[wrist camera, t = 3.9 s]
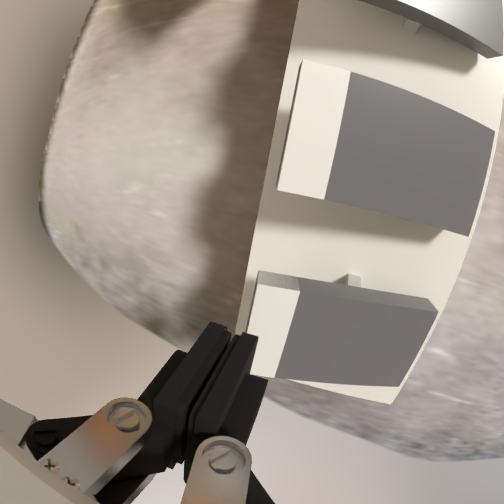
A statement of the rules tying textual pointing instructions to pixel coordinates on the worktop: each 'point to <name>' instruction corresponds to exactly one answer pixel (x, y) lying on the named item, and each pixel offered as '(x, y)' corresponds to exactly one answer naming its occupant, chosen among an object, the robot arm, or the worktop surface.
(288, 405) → the worktop surface
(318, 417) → the worktop surface
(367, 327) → the switch
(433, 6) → the switch
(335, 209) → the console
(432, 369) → the worktop surface
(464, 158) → the switch
